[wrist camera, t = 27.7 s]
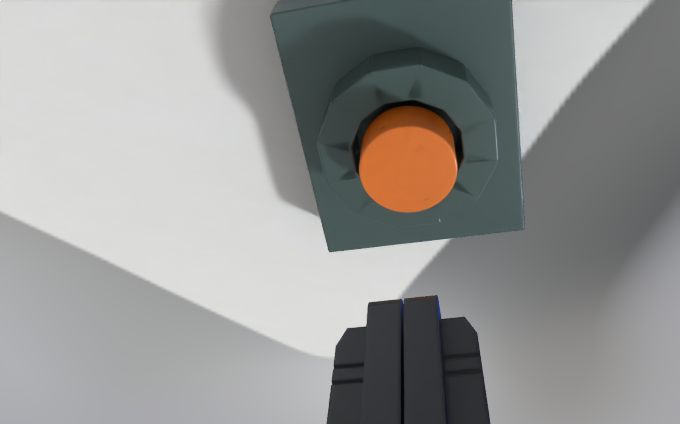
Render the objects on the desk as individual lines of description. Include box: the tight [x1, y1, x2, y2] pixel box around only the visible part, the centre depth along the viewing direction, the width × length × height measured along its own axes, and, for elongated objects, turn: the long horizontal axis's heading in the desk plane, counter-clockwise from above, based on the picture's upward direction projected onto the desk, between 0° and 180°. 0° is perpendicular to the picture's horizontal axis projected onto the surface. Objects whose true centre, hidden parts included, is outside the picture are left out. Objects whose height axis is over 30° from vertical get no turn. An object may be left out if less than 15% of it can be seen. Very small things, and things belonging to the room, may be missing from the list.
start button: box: [359, 106, 458, 212], centre depth 22 cm, size 3×3×2 cm
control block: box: [270, 0, 525, 252], centre depth 24 cm, size 10×8×4 cm
